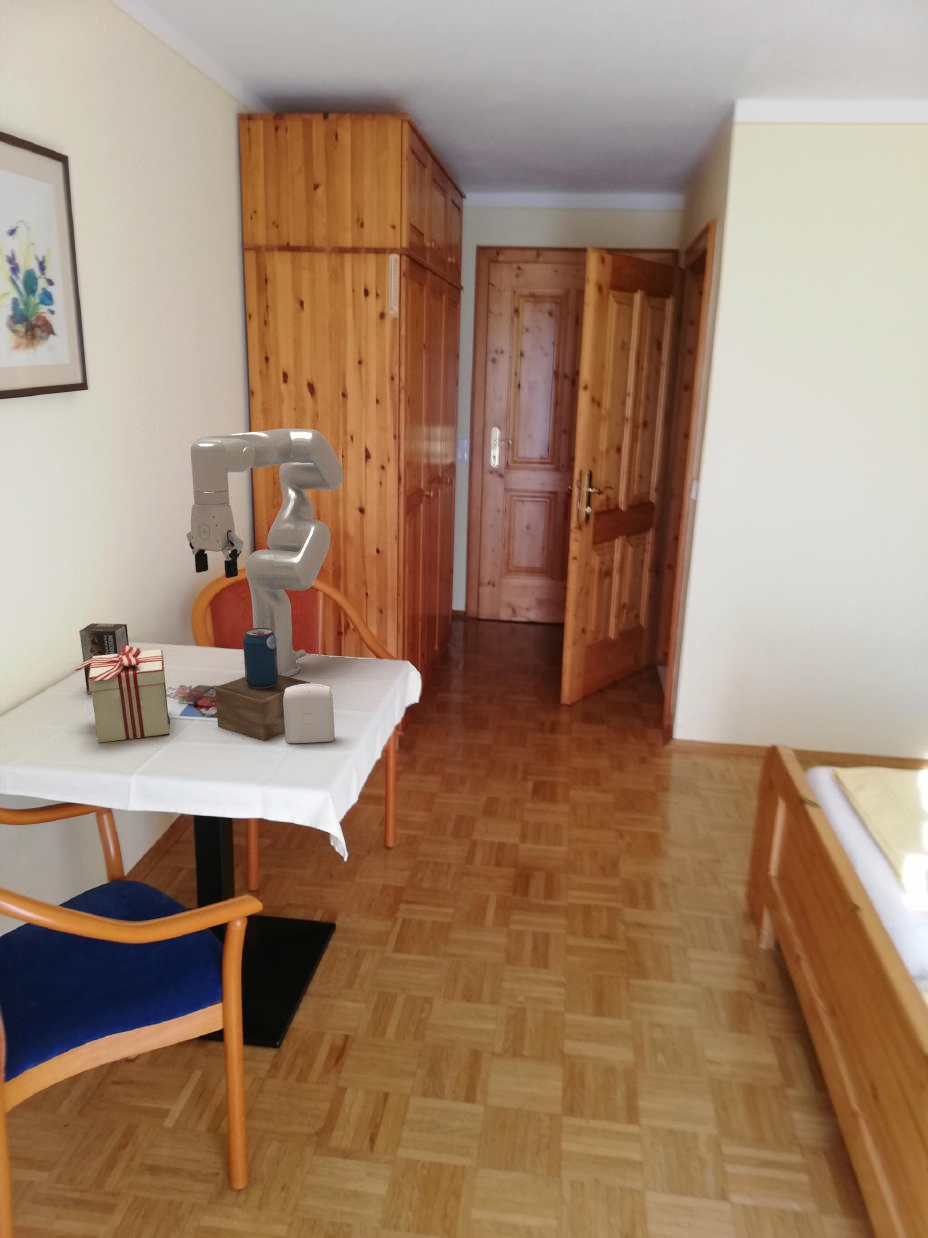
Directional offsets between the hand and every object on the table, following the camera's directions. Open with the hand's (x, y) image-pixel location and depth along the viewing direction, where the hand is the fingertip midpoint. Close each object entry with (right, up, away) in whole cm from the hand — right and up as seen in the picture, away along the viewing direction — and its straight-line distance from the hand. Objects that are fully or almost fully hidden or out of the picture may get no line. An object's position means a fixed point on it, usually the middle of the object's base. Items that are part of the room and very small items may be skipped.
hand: (216, 574), depth 209 cm
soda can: (+12, -24, -8) cm, 28 cm away
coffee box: (-29, -28, +14) cm, 43 cm away
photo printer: (+23, -36, -15) cm, 45 cm away
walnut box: (+12, -33, -6) cm, 36 cm away
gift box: (-17, -34, -9) cm, 39 cm away
